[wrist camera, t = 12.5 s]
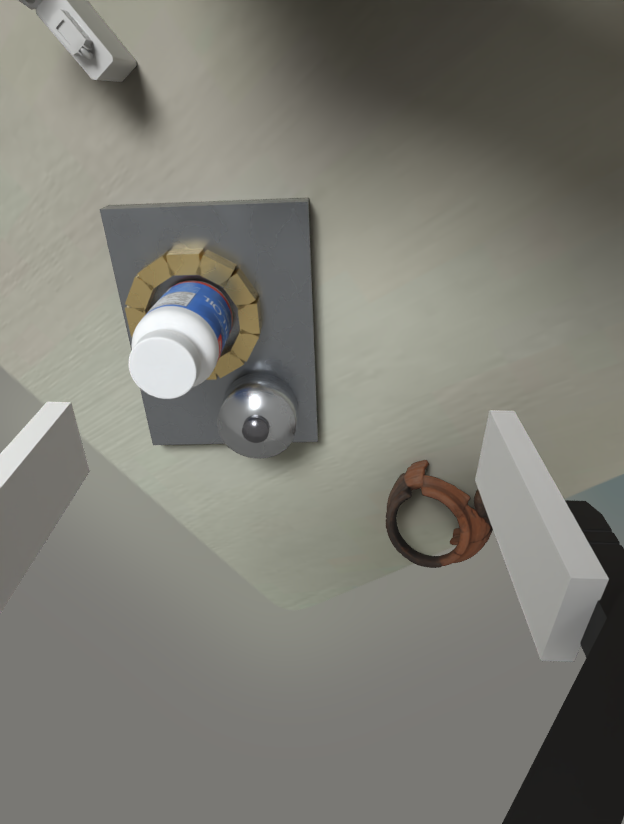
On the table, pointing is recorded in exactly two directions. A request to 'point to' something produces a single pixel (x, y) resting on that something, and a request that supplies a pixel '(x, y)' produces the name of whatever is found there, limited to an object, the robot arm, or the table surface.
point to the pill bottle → (180, 339)
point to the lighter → (86, 37)
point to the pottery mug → (470, 520)
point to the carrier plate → (251, 307)
